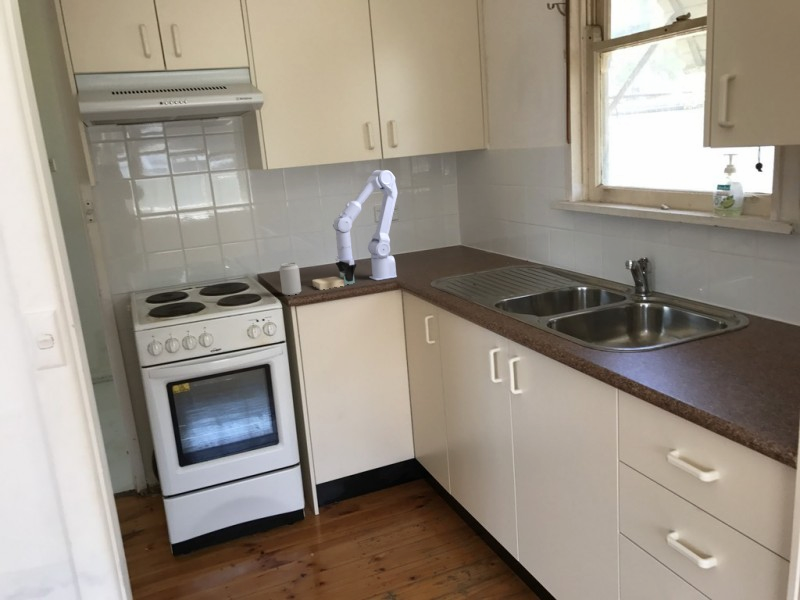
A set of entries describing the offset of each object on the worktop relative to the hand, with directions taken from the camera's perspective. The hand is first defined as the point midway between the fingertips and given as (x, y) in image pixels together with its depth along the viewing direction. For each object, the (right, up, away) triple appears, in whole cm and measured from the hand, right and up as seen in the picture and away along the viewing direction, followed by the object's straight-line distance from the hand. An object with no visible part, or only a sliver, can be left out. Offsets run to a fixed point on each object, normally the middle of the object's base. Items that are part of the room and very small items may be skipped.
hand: (347, 280), depth 269 cm
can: (-21, -6, -11) cm, 24 cm away
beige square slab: (-8, -3, -2) cm, 8 cm away
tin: (0, -1, 0) cm, 2 cm away
